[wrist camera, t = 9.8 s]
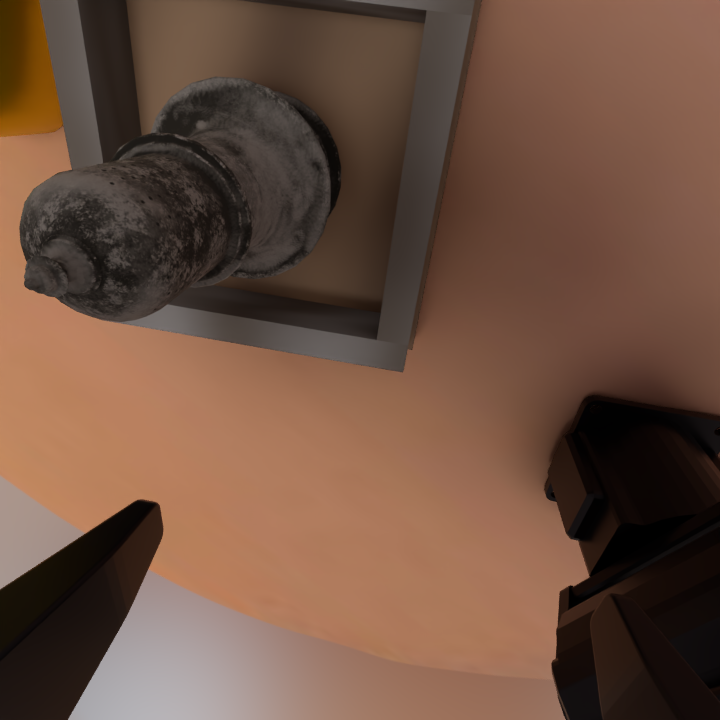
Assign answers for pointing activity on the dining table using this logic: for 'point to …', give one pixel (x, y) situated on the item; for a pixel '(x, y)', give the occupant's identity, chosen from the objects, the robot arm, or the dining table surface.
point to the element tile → (26, 72)
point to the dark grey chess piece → (185, 203)
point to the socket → (338, 112)
